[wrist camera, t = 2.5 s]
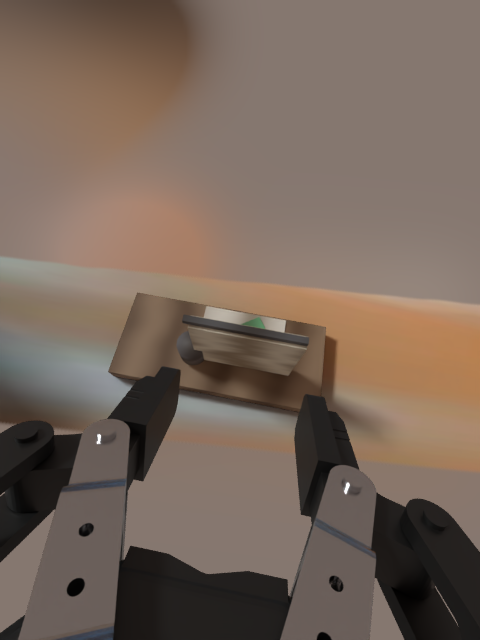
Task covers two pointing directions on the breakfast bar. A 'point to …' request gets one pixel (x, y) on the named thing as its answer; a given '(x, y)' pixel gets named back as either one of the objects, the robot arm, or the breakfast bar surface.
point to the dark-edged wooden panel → (240, 345)
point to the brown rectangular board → (212, 377)
